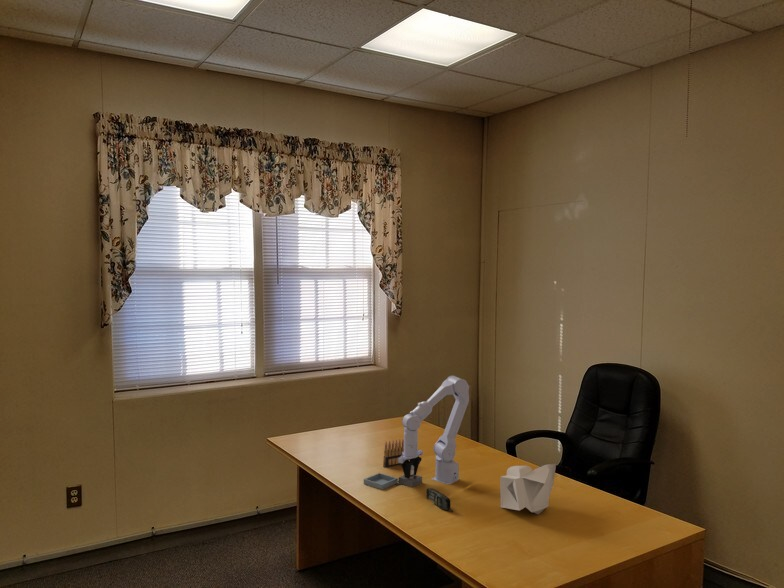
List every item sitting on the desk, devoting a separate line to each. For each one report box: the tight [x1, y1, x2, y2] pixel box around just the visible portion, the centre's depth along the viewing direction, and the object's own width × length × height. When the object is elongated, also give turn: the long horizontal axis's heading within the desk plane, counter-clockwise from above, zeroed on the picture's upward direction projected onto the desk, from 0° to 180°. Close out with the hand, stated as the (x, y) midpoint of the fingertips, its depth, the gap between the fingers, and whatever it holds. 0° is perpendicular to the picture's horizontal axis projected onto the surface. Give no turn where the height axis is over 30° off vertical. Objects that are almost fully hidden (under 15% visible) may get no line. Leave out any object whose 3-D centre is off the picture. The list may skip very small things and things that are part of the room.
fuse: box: [408, 465, 414, 479], centre depth 242 cm, size 3×3×7 cm
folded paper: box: [499, 463, 557, 516], centre depth 218 cm, size 17×24×17 cm
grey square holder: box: [398, 474, 423, 488], centre depth 242 cm, size 7×7×3 cm
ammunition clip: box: [382, 438, 404, 469], centre depth 264 cm, size 11×2×12 cm, turn 119°
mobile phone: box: [426, 487, 454, 513], centre depth 220 cm, size 5×3×15 cm
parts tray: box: [363, 472, 399, 491], centre depth 241 cm, size 10×10×2 cm
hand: (410, 475), depth 242 cm, fingers open, 4 cm apart
